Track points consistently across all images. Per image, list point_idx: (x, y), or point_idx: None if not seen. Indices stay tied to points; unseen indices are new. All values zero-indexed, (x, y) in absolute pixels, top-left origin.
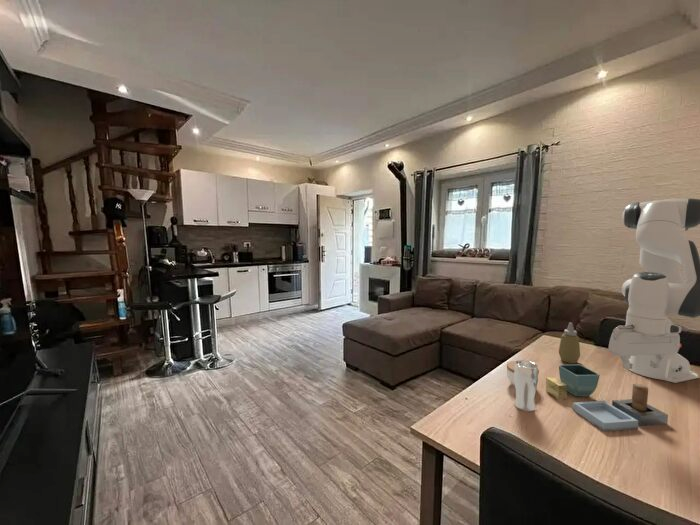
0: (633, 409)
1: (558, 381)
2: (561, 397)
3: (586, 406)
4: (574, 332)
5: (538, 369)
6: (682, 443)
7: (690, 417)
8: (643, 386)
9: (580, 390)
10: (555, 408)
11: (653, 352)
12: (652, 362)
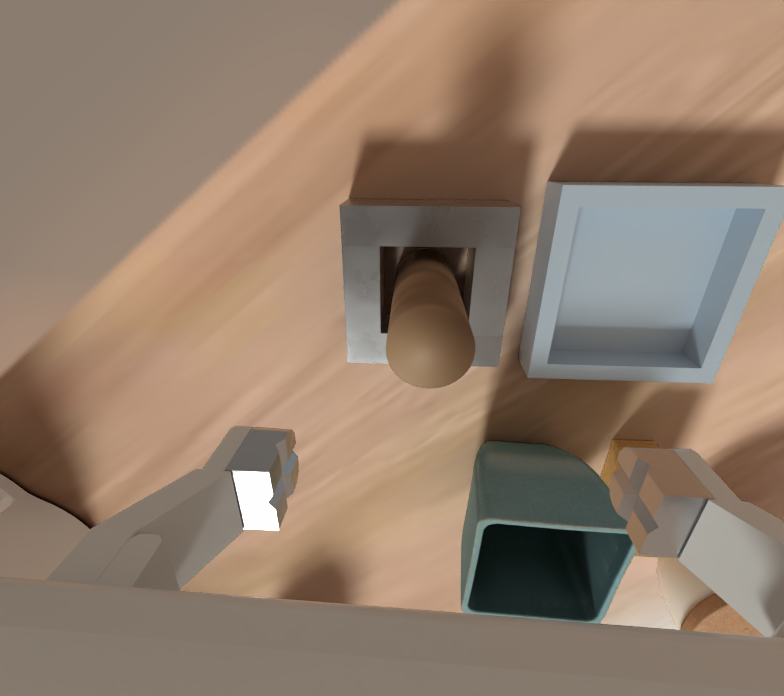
0: (480, 278)
1: None
2: (641, 445)
3: (642, 359)
4: None
5: (720, 610)
6: (453, 22)
7: (171, 236)
8: (411, 344)
9: (562, 459)
10: (757, 382)
11: (358, 683)
12: (277, 501)
